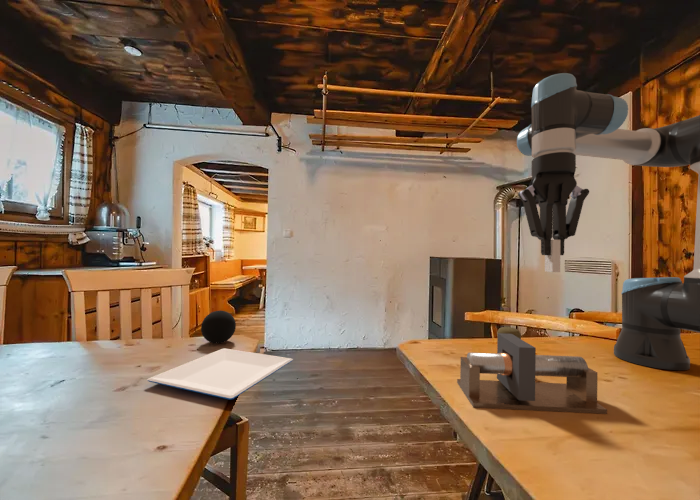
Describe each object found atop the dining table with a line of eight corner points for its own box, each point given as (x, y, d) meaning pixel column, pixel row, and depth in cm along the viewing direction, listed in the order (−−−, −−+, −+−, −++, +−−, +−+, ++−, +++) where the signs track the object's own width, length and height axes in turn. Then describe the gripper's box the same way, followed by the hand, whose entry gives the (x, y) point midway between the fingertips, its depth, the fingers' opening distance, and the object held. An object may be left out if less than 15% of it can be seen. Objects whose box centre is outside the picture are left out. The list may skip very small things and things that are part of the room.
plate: (145, 388, 65) (145, 378, 65) (223, 355, 86) (223, 347, 86) (231, 408, 57) (231, 397, 57) (293, 366, 78) (293, 358, 78)
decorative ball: (196, 348, 90) (197, 314, 90) (205, 338, 100) (206, 308, 100) (232, 346, 92) (233, 313, 92) (237, 337, 102) (238, 307, 102)
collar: (510, 379, 68) (511, 333, 68) (535, 401, 58) (535, 347, 58) (497, 378, 68) (497, 333, 68) (518, 400, 58) (519, 347, 58)
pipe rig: (568, 387, 67) (569, 347, 67) (607, 413, 56) (607, 366, 56) (457, 382, 69) (457, 344, 69) (473, 407, 58) (473, 361, 58)
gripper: (574, 161, 66) (573, 270, 66) (511, 161, 67) (511, 270, 67) (600, 149, 58) (599, 273, 58) (529, 150, 59) (528, 272, 59)
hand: (552, 271), depth 63 cm, fingers closed
